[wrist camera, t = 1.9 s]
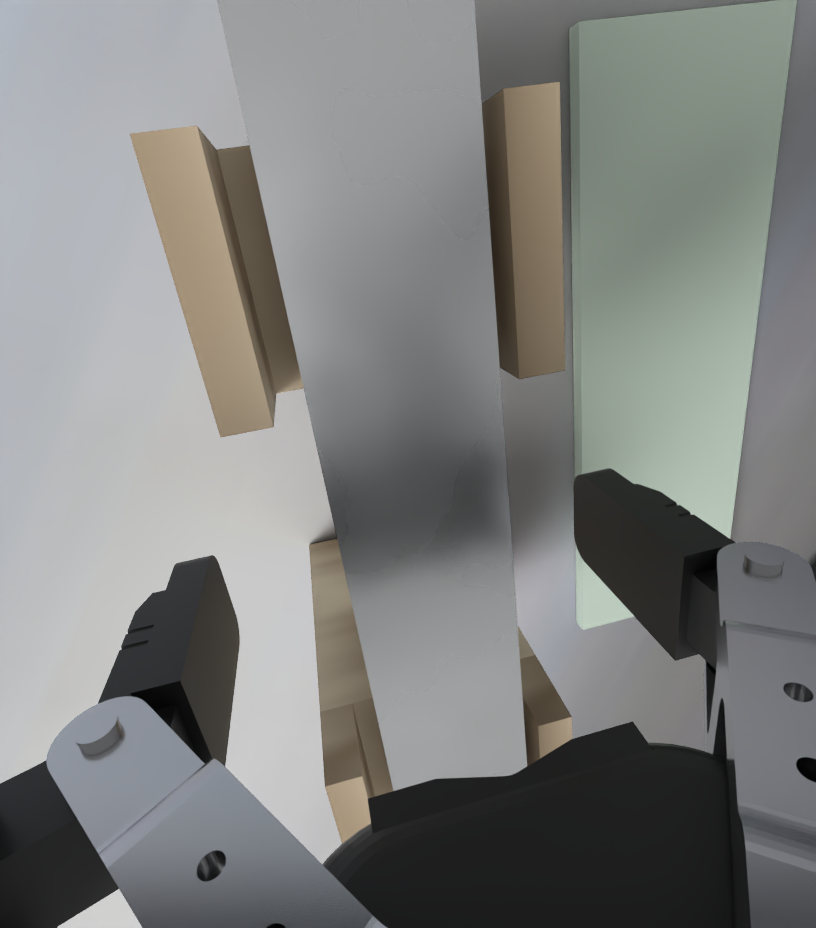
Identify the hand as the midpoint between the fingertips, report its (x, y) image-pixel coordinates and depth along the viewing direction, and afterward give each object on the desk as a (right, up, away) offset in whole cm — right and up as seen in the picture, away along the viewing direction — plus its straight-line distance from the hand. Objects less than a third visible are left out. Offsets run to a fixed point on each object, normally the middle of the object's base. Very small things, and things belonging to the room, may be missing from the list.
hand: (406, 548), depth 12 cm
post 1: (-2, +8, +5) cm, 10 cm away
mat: (+10, +5, +9) cm, 14 cm away
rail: (0, 0, 0) cm, 0 cm away
